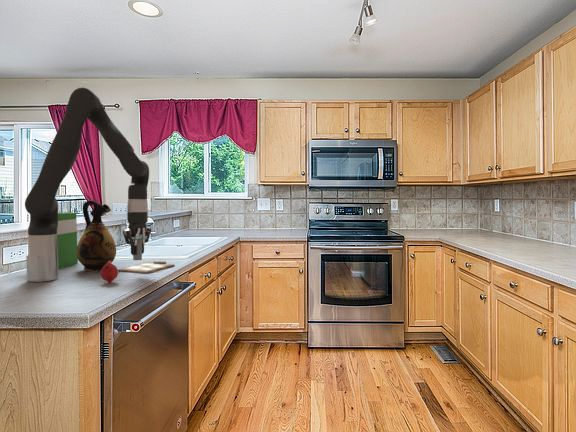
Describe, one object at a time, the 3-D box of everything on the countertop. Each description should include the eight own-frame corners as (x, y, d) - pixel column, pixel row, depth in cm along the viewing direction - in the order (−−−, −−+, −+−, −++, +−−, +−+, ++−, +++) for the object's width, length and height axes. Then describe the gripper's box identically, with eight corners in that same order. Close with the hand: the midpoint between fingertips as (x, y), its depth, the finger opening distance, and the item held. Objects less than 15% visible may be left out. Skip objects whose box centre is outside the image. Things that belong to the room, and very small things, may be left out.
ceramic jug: (124, 266, 172) (122, 199, 170) (101, 273, 157) (99, 200, 155) (90, 265, 175) (88, 199, 173) (65, 272, 160) (62, 200, 158)
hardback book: (54, 270, 164) (52, 214, 162) (37, 270, 164) (35, 214, 163) (77, 263, 181) (76, 212, 180) (62, 263, 181) (60, 212, 180)
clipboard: (147, 273, 156) (147, 269, 156) (118, 271, 161) (118, 266, 161) (174, 266, 173) (174, 262, 173) (147, 264, 178) (147, 260, 178)
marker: (137, 260, 150) (137, 235, 149) (131, 259, 151) (131, 234, 150) (144, 259, 153) (144, 234, 152) (137, 258, 154) (137, 233, 154)
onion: (109, 285, 136) (108, 262, 136) (97, 283, 138) (96, 261, 138) (121, 281, 142) (121, 260, 141) (109, 280, 144) (109, 259, 143)
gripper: (142, 210, 159) (142, 251, 160) (116, 210, 146) (116, 256, 146) (157, 210, 156) (157, 252, 157) (131, 211, 143) (131, 257, 144)
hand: (137, 254), depth 152 cm, fingers closed on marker, 3 cm apart
